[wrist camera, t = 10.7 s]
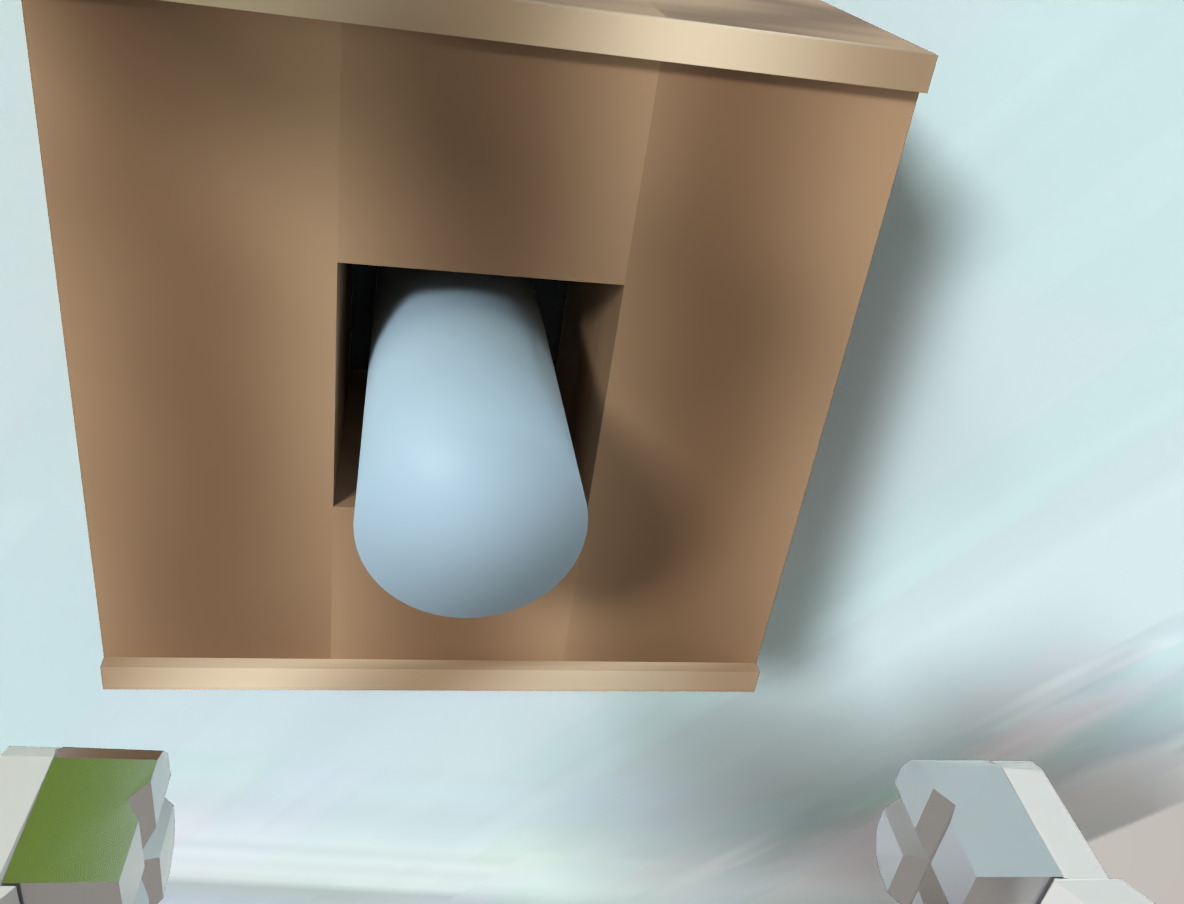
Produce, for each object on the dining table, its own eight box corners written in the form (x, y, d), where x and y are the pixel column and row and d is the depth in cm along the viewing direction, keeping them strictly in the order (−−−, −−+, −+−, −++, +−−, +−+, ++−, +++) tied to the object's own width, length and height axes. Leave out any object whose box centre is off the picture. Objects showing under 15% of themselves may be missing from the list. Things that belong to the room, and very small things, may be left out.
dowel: (539, 215, 24) (603, 432, 16) (523, 356, 26) (572, 619, 17) (379, 200, 23) (355, 420, 15) (374, 347, 25) (350, 616, 17)
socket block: (815, -3, 22) (938, 55, 17) (693, 532, 29) (754, 691, 24) (117, -99, 20) (5, -65, 14) (166, 514, 27) (103, 689, 21)
